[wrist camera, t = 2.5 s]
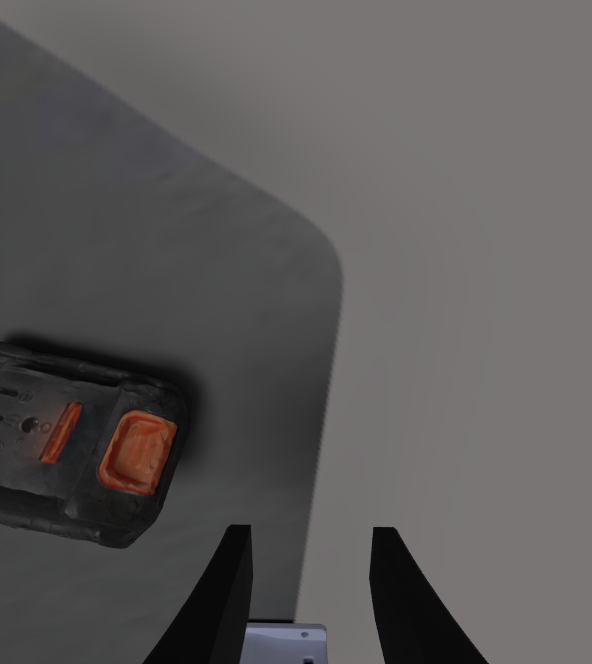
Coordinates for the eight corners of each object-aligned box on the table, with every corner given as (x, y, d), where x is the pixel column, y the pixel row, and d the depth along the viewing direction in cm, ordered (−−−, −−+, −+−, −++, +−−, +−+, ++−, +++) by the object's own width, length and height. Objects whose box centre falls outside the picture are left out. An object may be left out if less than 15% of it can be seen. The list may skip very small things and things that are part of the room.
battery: (210, 425, 22) (203, 371, 17) (143, 579, 17) (101, 577, 12) (33, 369, 23) (-32, 298, 17) (-80, 504, 18) (-225, 467, 12)
